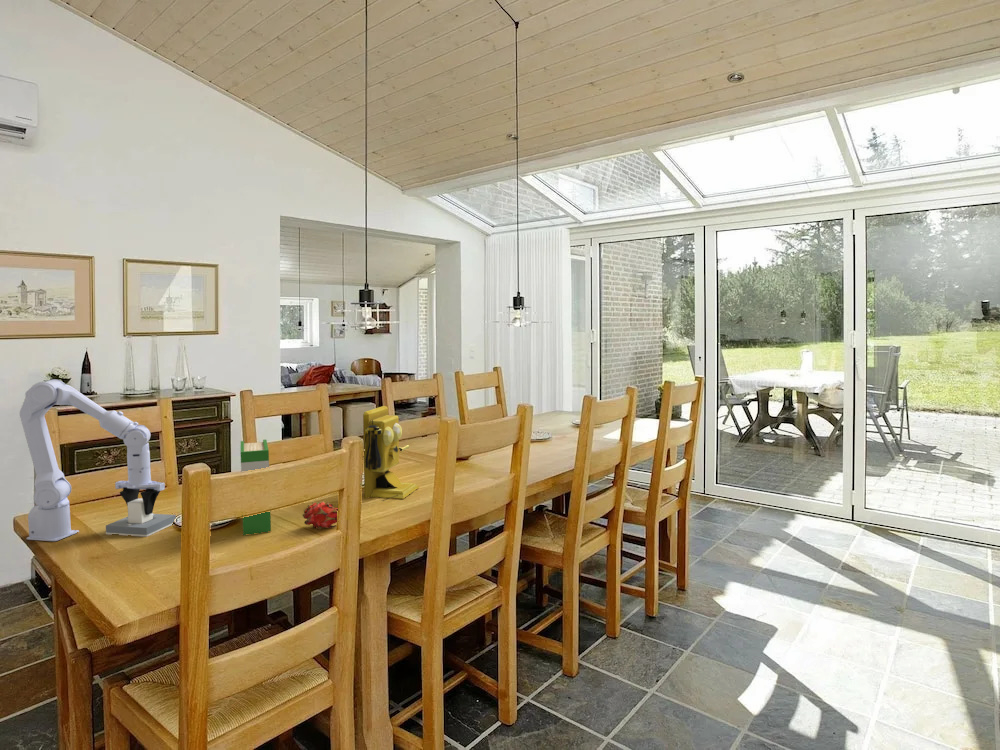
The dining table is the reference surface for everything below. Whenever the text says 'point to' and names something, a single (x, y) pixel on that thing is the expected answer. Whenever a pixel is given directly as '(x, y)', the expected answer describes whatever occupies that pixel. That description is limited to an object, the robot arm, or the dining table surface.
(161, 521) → the outlet box
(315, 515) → the dragon fruit
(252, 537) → the dining table surface
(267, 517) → the hardback book
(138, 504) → the block
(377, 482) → the vintage telephone
